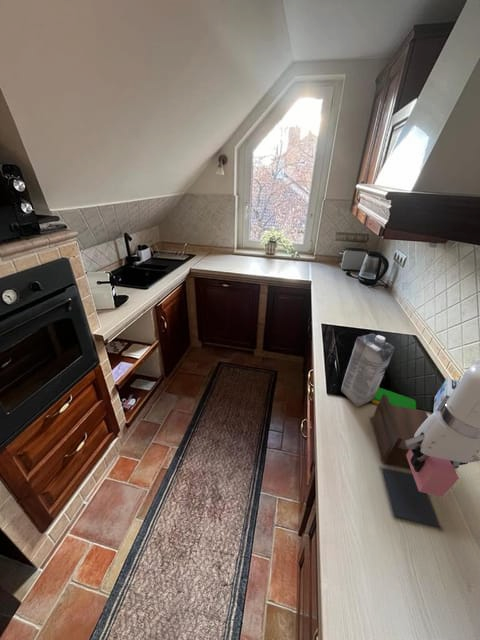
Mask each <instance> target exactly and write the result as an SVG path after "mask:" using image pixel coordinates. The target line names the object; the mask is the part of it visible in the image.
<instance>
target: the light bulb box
mask: <svg viewBox="0 0 480 640" xmlns="http://www.w3.org/2000/svg"><path fill="white" fill-rule="evenodd" d="M459 382H460V381H459V380H455V379H452V378H449V377H446V378H445V379H444V381H443V383H442V385H441V386H440V388H439V389H438V391H437V392H436V394H435V396H434V400H433V412H432V414H433V413H434V412H436V411H441V409H442V408H443V406H444V405H445V403H446V402H447V400H448V399H449V397H450V395H451V394H452V392H453V391H454V389H455V388H456V386H457V385H458V383H459Z"/></svg>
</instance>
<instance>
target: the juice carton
mask: <svg viewBox="0 0 480 640" xmlns="http://www.w3.org/2000/svg"><path fill="white" fill-rule="evenodd" d="M355 339H356V340H355V342H354V346H353V349H352V351H351V355H350V358H349V362H348V364H347V368H346V370H345V374H344V377H343V380H342V384H341V389H340V391H341V393H342V394H343V395H345V396H346V397H347V399H349V400H350V401H351V402H352V403H353V404H354V406H356V407H360V406H363V405H365V404H368V403H370V402H371V401H372V399H373V398H374V396H375V394H376V392H377V390H378V387H379V388H380V385H381V382H382V381H383V378H384V376H385V373H386V371H387V368H388V367H389V366H388V365H389V364H390V361H391V358H392V356H393V353H394V351H395V349H396V347H395V346H394V345H393V344H391V343H388V342H386V337H385V336H383V335H380V334H377V335H376V334H375V333H373V332H372V333H369V334H365V335H361V336H357V337H356V338H355Z"/></svg>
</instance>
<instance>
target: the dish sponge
mask: <svg viewBox="0 0 480 640" xmlns="http://www.w3.org/2000/svg"><path fill="white" fill-rule="evenodd" d="M383 394H384V395H387V397H388V400H389V403H390V405H394V406H400V407H405V408H411V409H417V401H416V399H413V398H412V397H411V398H410V397H408V396H405V395H402V394H399V393H397V392H393V391H391V390H387V389H385V388H382V387H380V386H379V387H378V390H377V392H376V394H375V396H374V398H373V399H372V400H371V401H370V402H371V403H372V404H375V405H378V404H379V402H380V400H381V397H382V395H383Z"/></svg>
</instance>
